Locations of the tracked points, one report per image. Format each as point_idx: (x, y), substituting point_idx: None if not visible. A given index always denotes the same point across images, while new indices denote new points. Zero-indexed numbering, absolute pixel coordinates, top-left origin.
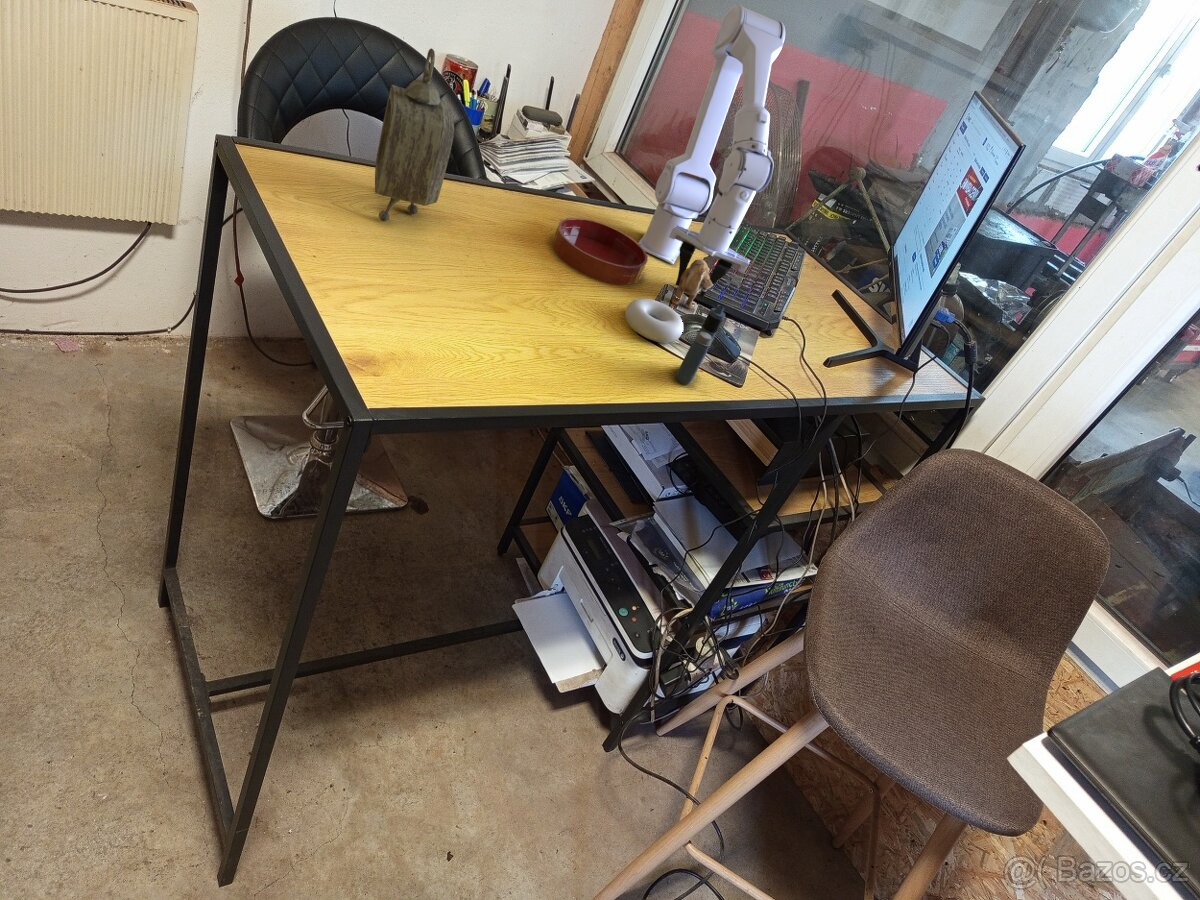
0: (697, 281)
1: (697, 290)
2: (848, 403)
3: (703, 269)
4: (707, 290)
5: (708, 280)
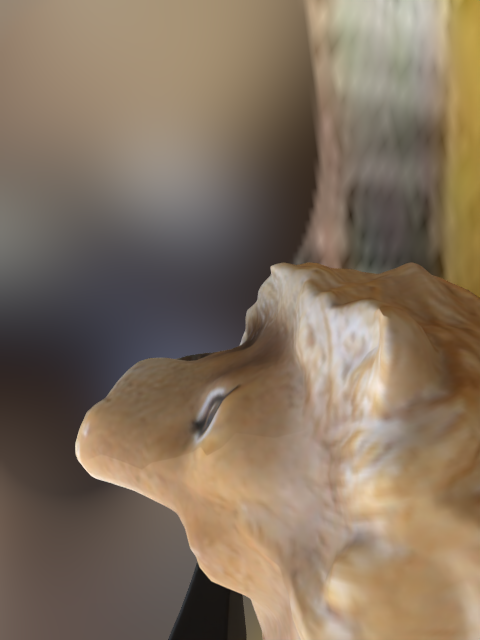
0: (334, 274)
1: (250, 309)
2: None
3: (473, 503)
4: (194, 575)
5: (177, 441)
